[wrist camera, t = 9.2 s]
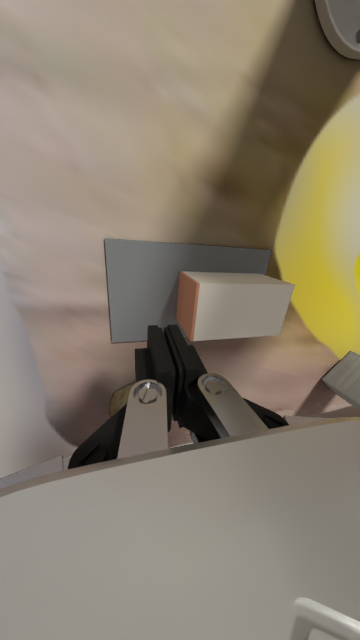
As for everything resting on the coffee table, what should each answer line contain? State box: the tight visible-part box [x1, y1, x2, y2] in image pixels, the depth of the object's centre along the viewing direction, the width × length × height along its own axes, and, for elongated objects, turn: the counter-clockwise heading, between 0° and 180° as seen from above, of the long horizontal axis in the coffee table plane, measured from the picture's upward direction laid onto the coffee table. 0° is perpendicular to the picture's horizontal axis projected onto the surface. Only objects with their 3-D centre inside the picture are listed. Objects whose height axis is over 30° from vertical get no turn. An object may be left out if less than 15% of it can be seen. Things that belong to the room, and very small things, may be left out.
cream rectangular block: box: [176, 271, 295, 341], centre depth 23 cm, size 6×6×11 cm
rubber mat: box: [105, 239, 272, 343], centre depth 25 cm, size 12×20×1 cm, turn 86°
